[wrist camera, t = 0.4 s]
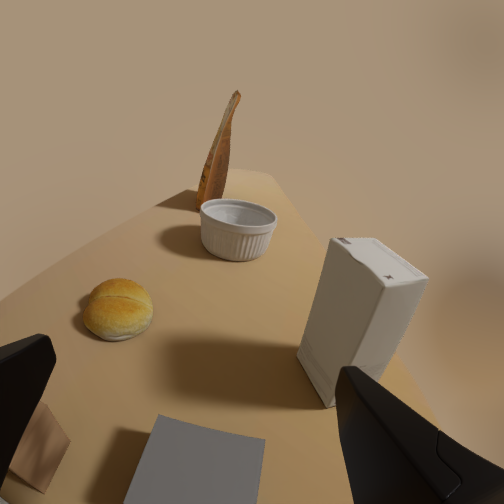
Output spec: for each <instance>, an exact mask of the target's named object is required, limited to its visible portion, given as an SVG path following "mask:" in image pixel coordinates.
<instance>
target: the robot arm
mask: <svg viewBox="0 0 504 504" xmlns="http://www.w3.org/2000/svg"><path fill="white" fill-rule="evenodd" d="M55 364H56V354H55V351H54V348H53V345H52V342H51V339H50V338H49V336H47V335H44V334H35V335H33V336H30V337H27V338H24V339H21V340H19V341H16V342H13V343H10V344H7V345H5V346H2V347H0V490H1V487H2V484H3V481H4V479H5V476H6V473H7V471H8V468H9V466H10V463H11V461H12V459H13V456H14V454H15V452H16V449H17V447H18V445H19V442H20V440H21V438H22V436H23V434H24V432H25V429H26V427H27V425H28V423H29V421H30V419H31V417H32V415H33V413H34V411H35V409H36V407H37V405H38V403H39V401H40V399H41V397H42V394H43V392H44V390H45V387H46V385H47V382H48V380H49V378H50V375H51V373H52V370H53V368H54V366H55ZM335 401H336V410H337V419H338V428H339V437H340V443H341V447H342V452H343V456H344V460H345V465H346V469H347V474H348V478H349V483H350V487H351V492H352V497H353V501H354V504H504V469H503V468H501V467H499V466H497V465H495V464H493V463H491V462H489V461H488V460H486V459H484V458H482V457H481V456H479V455H477V454H475V453H474V452H472V451H470V450H469V449H467V448H465V447H464V446H462V445H461V444H459V443H458V442H456V441H455V440H453V439H452V438H450V437H449V436H448V435H446V434H445V433H444V432H442V431H441V430H439V431H438V428H437V427H435V426H434V425H433V424H431V423H430V422H429V421H427V420H426V419H425V418H423V417H422V416H421V415H419V414H418V413H417V412H415V411H414V410H413V409H411V408H410V407H409V406H407V405H406V404H405V403H404V402H402V401H401V400H400V399H398V398H397V397H396V396H394V395H393V394H392V393H390V392H389V391H388V390H387V389H385V388H384V387H383V386H381V385H380V384H379V383H377V382H376V381H375V380H374V379H372V378H371V377H370V376H368V375H367V374H366V373H365V372H363V371H362V370H361V369H360V368H358V367H357V366H343V367H341V369H340V372H339V375H338V379H337V383H336V386H335Z"/></svg>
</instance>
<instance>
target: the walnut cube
mask: <svg viewBox="0 0 504 504" xmlns="http://www.w3.org/2000/svg"><path fill="white" fill-rule="evenodd" d="M70 442H71V441H70V439H69V438H68V437H67V435H66V434H65V432H64V431H63V429H62V428H61V426H60V425H59V423H58V422H57V420H56V419H55V417H54V416H53V414H52V412H51V411H50V409H49V408H48V406H47V405H46V404H44V403H43V402H41V401H39V403H38V405H37V407H36V409H35V411H34V413H33V415H32V417H31V419H30V421H29V423H28V425H27V427H26V429H25V432H24V434H23V436H22V438H21V440H20V442H19V445H18V447H17V449H16V452H15V454H14V456H13V459H12V461H11V463H10V466H9V468H8V469H9V470H10V471H11V472H13V473H14V474H15V475H17V476H18V477H20V478H21V479H22V480H24V481H25V482H27V483H28V484H30V485H31V486H33V487H34V488H36V489H37V490H39V491H40V492H42V493H43V494H45V492H46V490H47V488H48V486H49V484H50V482H51V480H52V478H53V476H54V474H55V472H56V470H57V468H58V466H59V464H60V462H61V460H62V458H63V456H64V454H65V452H66V450H67V448H68V446H69V444H70Z"/></svg>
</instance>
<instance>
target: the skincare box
mask: <svg viewBox="0 0 504 504" xmlns="http://www.w3.org/2000/svg"><path fill="white" fill-rule="evenodd" d="M428 280H429V278H428V277H427V276H426V275H424V274H423V273H422V272H420V271H419V270H418V269H416V268H415V267H414V266H412V265H411V264H409V263H408V262H407V261H406V260H404V259H403V258H401V257H400V256H399V255H397V254H396V253H395V252H393V251H392V250H391V249H389V248H388V247H386V246H385V245H384V244H382V243H381V242H380V241H379V240H377V239H376V238H331V239H330V242H329V246H328V250H327V253H326V257H325V261H324V265H323V269H322V272H321V276H320V280H319V283H318V287H317V290H316V294H315V297H314V301H313V304H312V308H311V311H310V314H309V318H308V321H307V324H306V328H305V331H304V334H303V337H302V340H301V343H300V346H299V350H298V352H297V358H298V359H299V361H300V363H301V365H302V366H303V368H304V370H305V372H306V373H307V375H308V377H309V379H310V380H311V382H312V384H313V386H314V387H315V389H316V391H317V392H318V394H319V396H320V397H321V399H322V401H323V403H324V405H325V407H326V408H329V407H333V406H336V401H335V386H336V383H337V379H338V375H339V372H340V369H341V367H343V366H357V367H358V368H360V369H361V370H362V371H363V372H365V373H366V374H367V375H368V376H370V377H371V378H372V379H374V380H375V381H376V382H378V381H379V379H380V377H381V376H382V374H383V372H384V370H385V369H386V367H387V365H388V363H389V362H390V360H391V358H392V356H393V354H394V352H395V351H396V349H397V347H398V345H399V343H400V341H401V339H402V337H403V335H404V333H405V331H406V329H407V327H408V325H409V323H410V321H411V319H412V317H413V315H414V312H415V310H416V308H417V306H418V304H419V301H420V299H421V297H422V294H423V292H424V290H425V287H426V285H427V283H428Z"/></svg>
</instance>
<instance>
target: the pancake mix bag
mask: <svg viewBox="0 0 504 504" xmlns="http://www.w3.org/2000/svg"><path fill="white" fill-rule="evenodd" d="M240 98H241V95H240V93H239V92H238V90H237V91H235V93H234V94H233V95H232V97H231V99H230V101H229V104H228V106H227V108H226V110H225V113H224V116H223V119H222V122H221V125H220V127H219V130H218V132H217V135H216V137H215V139H214V141H213V144H212V147H211V149H210V152H209V155H208V157H207V160H206V163H205V165H204V168H203V172H202V176H201V179H200V184H199V188H198V193H197V200H196V209H197V210H200V207H201V205H202V204H203V203H204V202H206V201H209V200H214V199H221V198H222V195H223V192H224V188H225V183H226V177H227V172H228V164H229V155H230V136H231V121H232V117H233V114H234V111H235V108H236V106H237V105H238V103H239V101H240Z"/></svg>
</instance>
